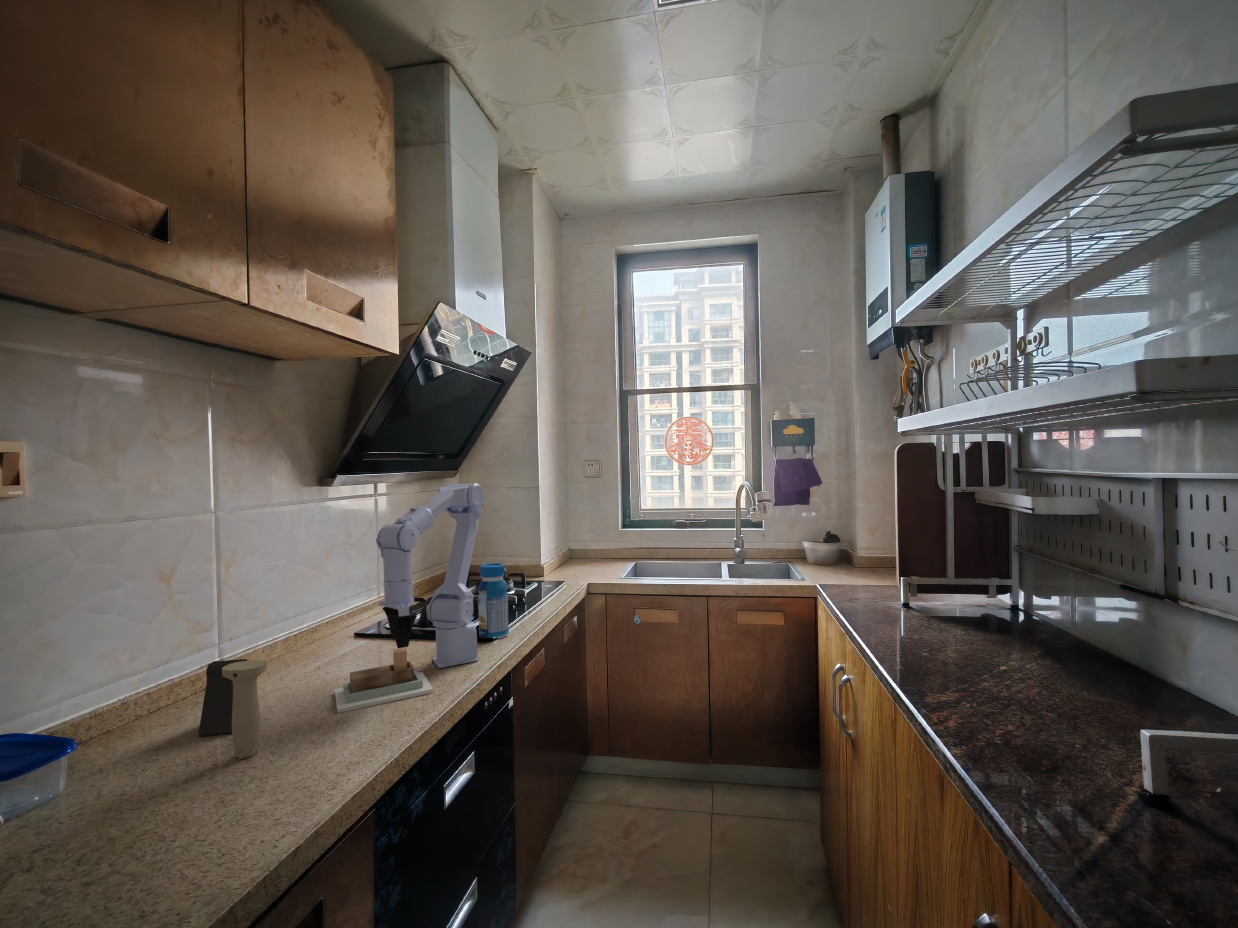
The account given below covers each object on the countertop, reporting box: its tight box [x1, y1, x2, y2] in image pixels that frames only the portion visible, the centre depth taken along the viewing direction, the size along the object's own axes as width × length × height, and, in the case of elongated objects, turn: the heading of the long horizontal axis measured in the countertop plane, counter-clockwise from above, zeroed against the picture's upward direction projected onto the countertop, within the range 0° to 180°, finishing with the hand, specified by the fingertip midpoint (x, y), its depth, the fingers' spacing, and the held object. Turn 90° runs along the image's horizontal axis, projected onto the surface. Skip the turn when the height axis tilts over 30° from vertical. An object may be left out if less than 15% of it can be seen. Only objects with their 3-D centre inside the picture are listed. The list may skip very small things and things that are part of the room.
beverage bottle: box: [477, 562, 510, 640], centre depth 158 cm, size 8×8×20 cm
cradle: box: [334, 668, 434, 714], centre depth 119 cm, size 18×12×2 cm, turn 119°
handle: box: [222, 659, 268, 760], centre depth 94 cm, size 5×6×15 cm
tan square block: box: [392, 647, 408, 671], centre depth 121 cm, size 2×2×6 cm
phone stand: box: [197, 658, 249, 738], centre depth 106 cm, size 9×6×12 cm, turn 8°
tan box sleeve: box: [349, 660, 415, 693], centre depth 119 cm, size 12×5×4 cm, turn 119°
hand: (400, 642), depth 121 cm, fingers open, 7 cm apart
